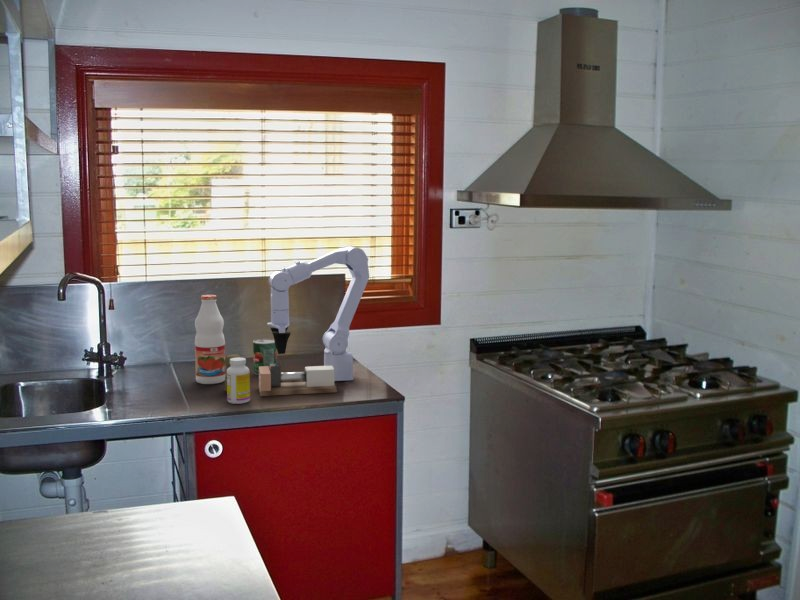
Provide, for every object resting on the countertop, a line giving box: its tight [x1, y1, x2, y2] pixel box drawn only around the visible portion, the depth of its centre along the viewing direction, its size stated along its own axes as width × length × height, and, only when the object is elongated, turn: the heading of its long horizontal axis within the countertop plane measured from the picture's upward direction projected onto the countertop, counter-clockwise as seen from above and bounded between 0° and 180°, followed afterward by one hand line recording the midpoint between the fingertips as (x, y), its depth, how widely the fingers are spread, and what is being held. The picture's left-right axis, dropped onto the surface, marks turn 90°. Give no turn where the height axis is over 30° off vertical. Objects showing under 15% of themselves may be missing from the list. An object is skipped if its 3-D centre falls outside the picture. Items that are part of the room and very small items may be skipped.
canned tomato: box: [252, 338, 278, 376], centre depth 278 cm, size 8×8×11 cm
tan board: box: [257, 382, 338, 397], centre depth 258 cm, size 23×10×2 cm, turn 103°
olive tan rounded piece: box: [223, 353, 242, 392], centre depth 257 cm, size 6×6×11 cm
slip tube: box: [270, 362, 307, 387], centre depth 257 cm, size 14×4×6 cm, turn 103°
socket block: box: [258, 366, 271, 391], centre depth 255 cm, size 3×10×5 cm, turn 13°
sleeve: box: [304, 365, 335, 387], centre depth 259 cm, size 9×5×5 cm, turn 103°
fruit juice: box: [194, 294, 226, 385], centre depth 265 cm, size 9×9×28 cm
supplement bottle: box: [226, 357, 251, 405], centre depth 243 cm, size 7×7×13 cm
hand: (280, 351), depth 265 cm, fingers open, 7 cm apart
